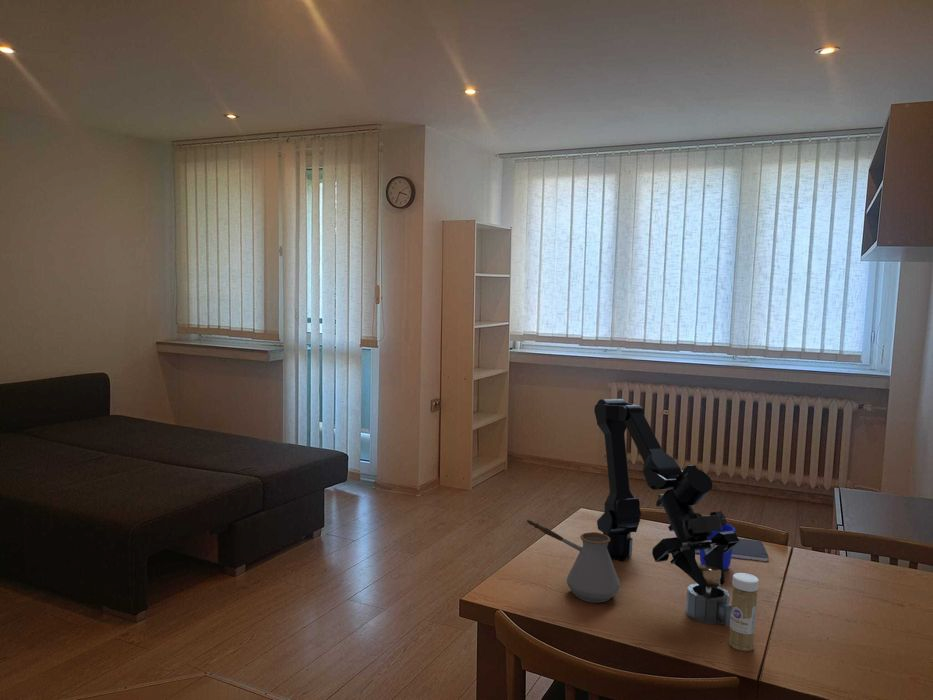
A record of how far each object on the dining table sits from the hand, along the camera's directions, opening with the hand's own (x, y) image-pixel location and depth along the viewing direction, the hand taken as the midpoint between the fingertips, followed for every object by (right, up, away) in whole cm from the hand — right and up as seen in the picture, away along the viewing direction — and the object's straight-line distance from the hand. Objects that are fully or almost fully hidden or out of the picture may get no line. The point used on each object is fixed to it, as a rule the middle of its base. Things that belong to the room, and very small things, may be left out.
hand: (713, 585), depth 141 cm
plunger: (-1, -5, +2) cm, 6 cm away
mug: (+10, -5, +30) cm, 32 cm away
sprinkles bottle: (+1, -8, -11) cm, 13 cm away
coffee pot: (-28, -5, +11) cm, 30 cm away
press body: (0, -7, +1) cm, 7 cm away
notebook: (+17, -5, +41) cm, 45 cm away
